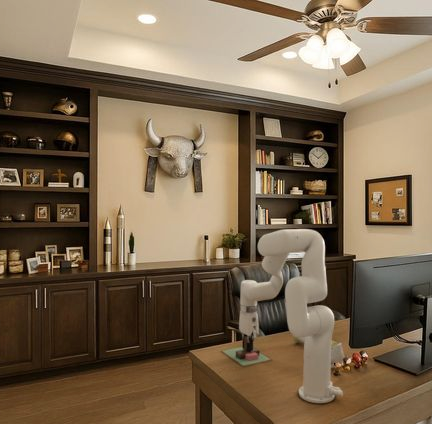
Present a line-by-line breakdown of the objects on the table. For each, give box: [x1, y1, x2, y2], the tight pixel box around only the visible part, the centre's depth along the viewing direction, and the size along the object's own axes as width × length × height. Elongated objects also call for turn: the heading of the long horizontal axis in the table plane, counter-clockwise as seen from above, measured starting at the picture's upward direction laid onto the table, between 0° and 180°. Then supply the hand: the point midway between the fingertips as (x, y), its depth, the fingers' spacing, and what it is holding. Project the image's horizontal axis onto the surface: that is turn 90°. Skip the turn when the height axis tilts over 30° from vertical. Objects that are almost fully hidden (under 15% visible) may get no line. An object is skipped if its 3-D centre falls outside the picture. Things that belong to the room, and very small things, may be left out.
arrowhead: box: [331, 342, 346, 369], centre depth 163 cm, size 8×2×10 cm, turn 119°
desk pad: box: [222, 346, 272, 367], centre depth 174 cm, size 20×14×1 cm
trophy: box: [292, 335, 340, 364], centre depth 180 cm, size 8×8×30 cm
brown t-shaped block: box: [236, 336, 260, 360], centre depth 173 cm, size 4×10×8 cm, turn 122°
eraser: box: [245, 352, 258, 361], centre depth 170 cm, size 3×5×2 cm, turn 122°
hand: (247, 349), depth 173 cm, fingers closed on brown t-shaped block, 2 cm apart
